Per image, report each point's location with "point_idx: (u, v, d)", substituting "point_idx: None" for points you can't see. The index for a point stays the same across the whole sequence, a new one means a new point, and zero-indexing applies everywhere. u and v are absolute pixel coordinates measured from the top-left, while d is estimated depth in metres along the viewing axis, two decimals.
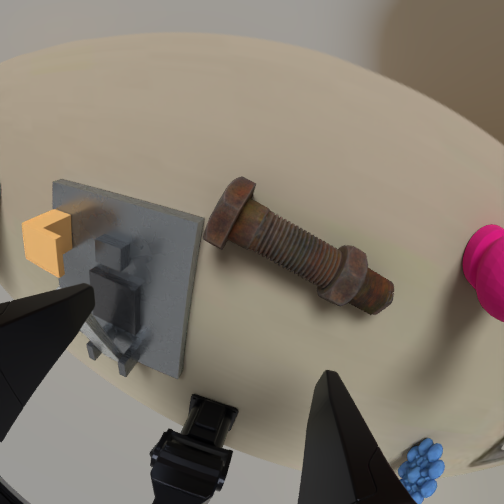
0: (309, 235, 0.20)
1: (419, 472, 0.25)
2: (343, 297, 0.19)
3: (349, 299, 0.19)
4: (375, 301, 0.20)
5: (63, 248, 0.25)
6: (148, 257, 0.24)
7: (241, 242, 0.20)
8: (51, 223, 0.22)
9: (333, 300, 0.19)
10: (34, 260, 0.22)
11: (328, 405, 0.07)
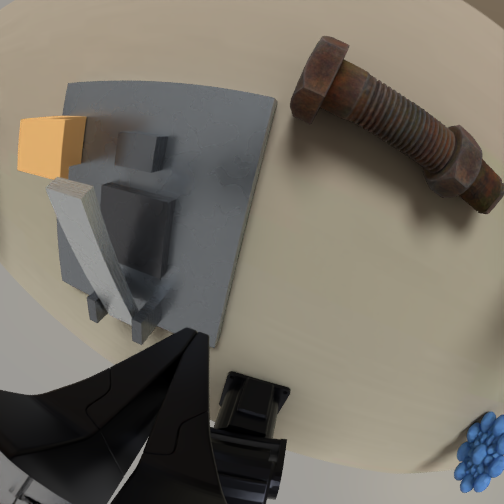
0: (416, 105, 0.13)
1: (485, 450, 0.18)
2: (468, 175, 0.12)
3: (473, 179, 0.12)
4: (492, 189, 0.12)
5: (69, 158, 0.17)
6: (194, 153, 0.17)
7: (345, 101, 0.12)
8: (60, 117, 0.15)
9: (458, 179, 0.12)
10: (28, 167, 0.14)
11: None
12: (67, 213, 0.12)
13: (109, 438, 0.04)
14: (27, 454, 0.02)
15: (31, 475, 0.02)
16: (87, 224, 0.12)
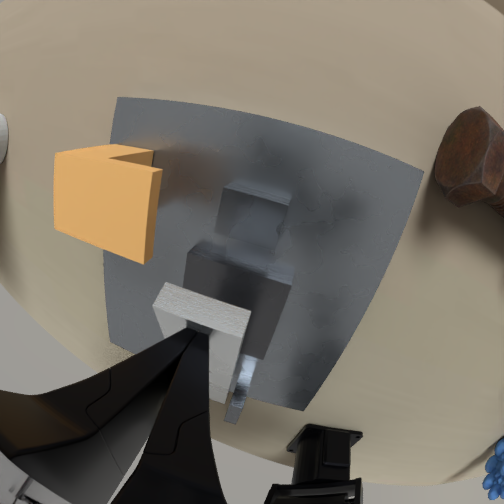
0: None
1: None
2: None
3: None
4: None
5: None
6: (325, 225, 0.14)
7: (498, 191, 0.09)
8: (122, 154, 0.12)
9: None
10: (76, 230, 0.12)
11: None
12: None
13: (109, 438, 0.04)
14: (27, 454, 0.02)
15: (31, 475, 0.02)
16: (231, 354, 0.10)
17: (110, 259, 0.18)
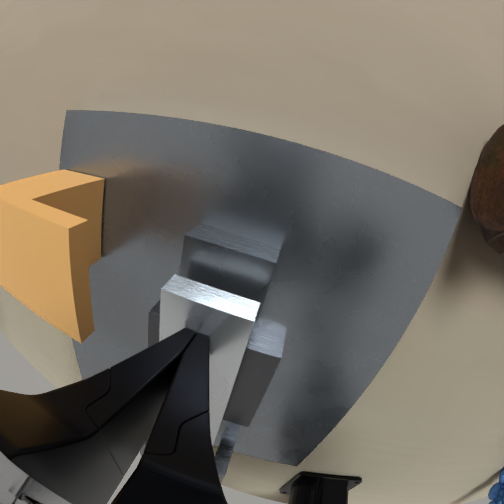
0: None
1: None
2: None
3: None
4: None
5: None
6: (328, 282, 0.10)
7: None
8: (56, 190, 0.08)
9: None
10: (11, 288, 0.08)
11: (180, 361, 0.07)
12: None
13: (109, 438, 0.04)
14: (27, 453, 0.02)
15: (31, 475, 0.02)
16: (235, 358, 0.09)
17: None
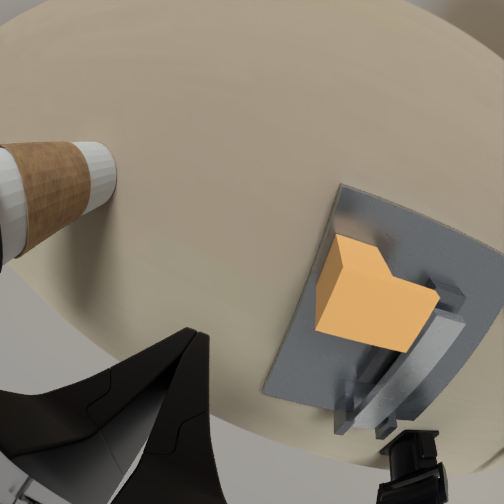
0: None
1: None
2: None
3: None
4: None
5: None
6: (471, 302, 0.17)
7: None
8: (385, 264, 0.14)
9: None
10: (348, 333, 0.14)
11: None
12: (439, 335, 0.15)
13: (109, 438, 0.04)
14: (27, 454, 0.02)
15: (31, 475, 0.02)
16: (450, 342, 0.15)
17: (299, 330, 0.21)
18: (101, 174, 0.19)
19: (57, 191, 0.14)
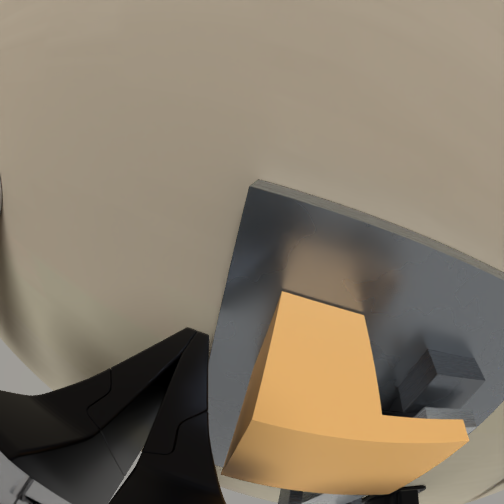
0: None
1: None
2: None
3: None
4: None
5: None
6: (489, 373, 0.09)
7: None
8: (372, 374, 0.06)
9: None
10: (283, 484, 0.06)
11: None
12: None
13: (110, 439, 0.04)
14: (28, 455, 0.02)
15: (30, 474, 0.02)
16: None
17: (212, 407, 0.13)
18: None
19: None
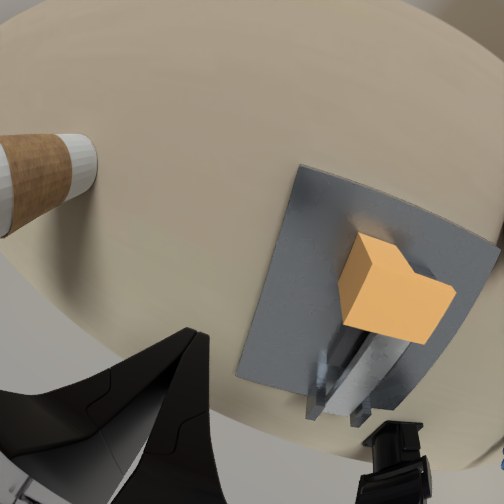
0: None
1: None
2: None
3: None
4: None
5: None
6: None
7: None
8: (406, 262, 0.15)
9: None
10: (374, 326, 0.15)
11: None
12: None
13: (109, 438, 0.04)
14: (27, 454, 0.02)
15: (31, 475, 0.02)
16: None
17: (265, 309, 0.22)
18: (82, 162, 0.19)
19: (40, 177, 0.15)
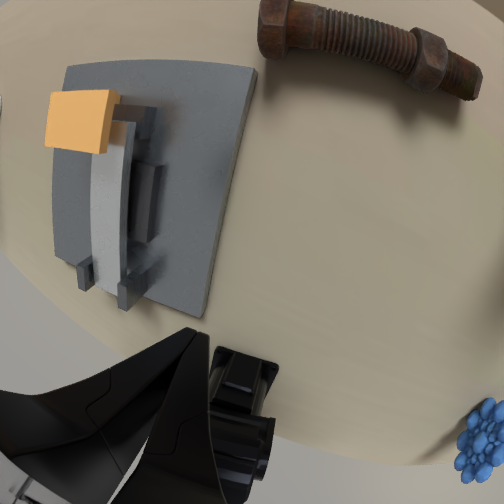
0: None
1: (486, 438, 0.18)
2: (439, 60, 0.10)
3: (445, 62, 0.10)
4: (468, 71, 0.10)
5: None
6: (180, 121, 0.17)
7: (304, 28, 0.12)
8: None
9: (432, 65, 0.11)
10: (59, 142, 0.14)
11: None
12: None
13: (109, 438, 0.04)
14: (27, 454, 0.02)
15: (31, 475, 0.02)
16: (121, 149, 0.16)
17: (56, 178, 0.21)
18: None
19: None
